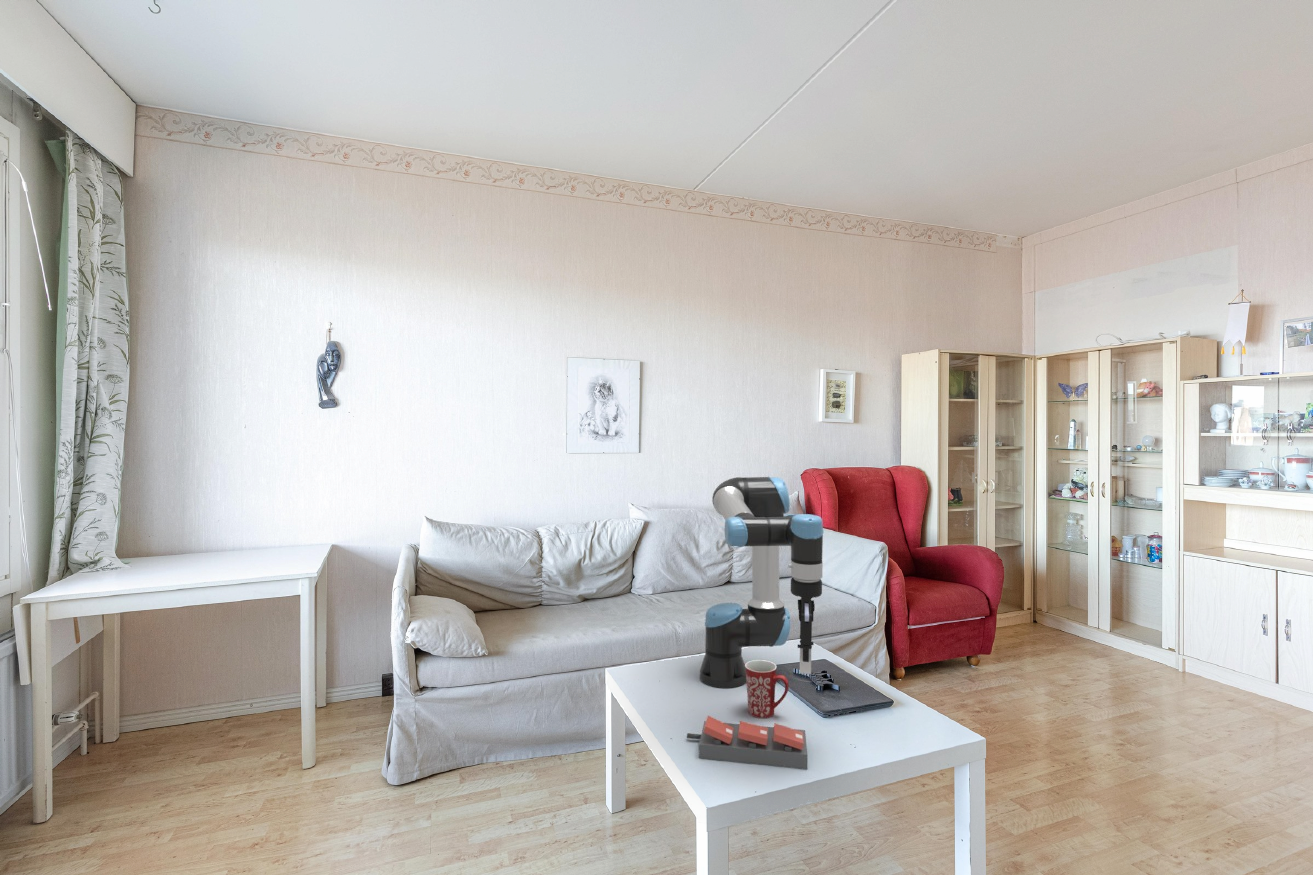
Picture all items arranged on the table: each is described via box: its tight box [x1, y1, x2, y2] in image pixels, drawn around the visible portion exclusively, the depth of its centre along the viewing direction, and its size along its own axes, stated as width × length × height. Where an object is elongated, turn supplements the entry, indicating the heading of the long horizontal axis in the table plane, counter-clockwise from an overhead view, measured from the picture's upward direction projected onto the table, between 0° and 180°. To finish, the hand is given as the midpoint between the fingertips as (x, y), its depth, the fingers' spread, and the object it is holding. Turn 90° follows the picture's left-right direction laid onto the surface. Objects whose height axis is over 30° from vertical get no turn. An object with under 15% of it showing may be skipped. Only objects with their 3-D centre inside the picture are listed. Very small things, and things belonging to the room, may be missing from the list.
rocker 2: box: [773, 723, 804, 750], centre depth 153 cm, size 6×7×2 cm
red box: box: [738, 720, 768, 745], centre depth 154 cm, size 6×7×2 cm
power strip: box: [686, 720, 808, 770], centre depth 157 cm, size 12×30×5 cm, turn 79°
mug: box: [744, 659, 790, 719], centre depth 176 cm, size 13×9×14 cm
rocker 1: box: [703, 715, 734, 744], centre depth 156 cm, size 6×7×2 cm
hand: (805, 672), depth 154 cm, fingers closed
